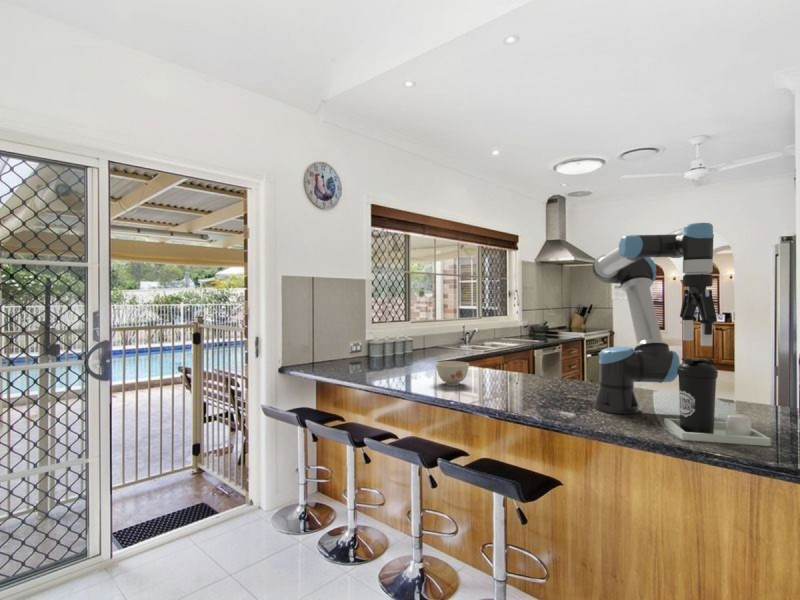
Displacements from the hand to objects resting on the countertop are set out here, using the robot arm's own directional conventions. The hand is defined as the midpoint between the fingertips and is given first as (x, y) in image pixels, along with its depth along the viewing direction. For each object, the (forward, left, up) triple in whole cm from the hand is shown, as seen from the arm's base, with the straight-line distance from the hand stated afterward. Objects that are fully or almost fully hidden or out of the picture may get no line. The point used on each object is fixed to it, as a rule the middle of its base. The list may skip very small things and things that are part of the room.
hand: (696, 343), depth 131 cm
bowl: (-83, +55, -29) cm, 104 cm away
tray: (+4, -1, -29) cm, 29 cm away
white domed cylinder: (+11, -1, -28) cm, 30 cm away
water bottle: (0, -1, -28) cm, 28 cm away
